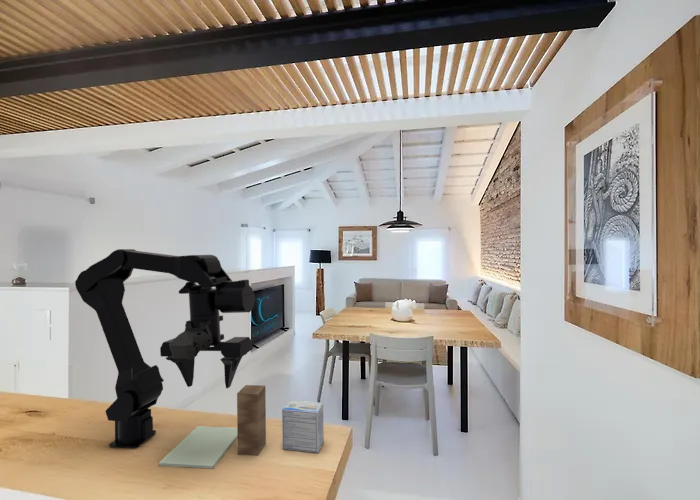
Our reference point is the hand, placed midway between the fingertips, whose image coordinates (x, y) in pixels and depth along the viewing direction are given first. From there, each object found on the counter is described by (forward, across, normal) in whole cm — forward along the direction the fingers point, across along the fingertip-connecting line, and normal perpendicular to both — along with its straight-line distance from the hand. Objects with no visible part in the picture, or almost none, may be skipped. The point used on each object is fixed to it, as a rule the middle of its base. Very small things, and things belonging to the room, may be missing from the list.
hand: (208, 386), depth 73 cm
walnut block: (+13, +9, +1) cm, 16 cm away
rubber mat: (+13, -2, 0) cm, 13 cm away
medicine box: (+14, +19, +4) cm, 24 cm away
